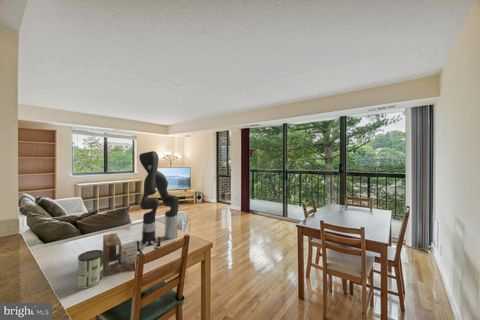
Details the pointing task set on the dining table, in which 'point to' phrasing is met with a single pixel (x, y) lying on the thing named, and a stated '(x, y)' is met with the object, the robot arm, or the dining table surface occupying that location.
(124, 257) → the ink box
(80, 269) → the coffee can
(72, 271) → the dining table surface
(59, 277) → the dining table surface
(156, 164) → the robot arm
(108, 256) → the shelf bay
